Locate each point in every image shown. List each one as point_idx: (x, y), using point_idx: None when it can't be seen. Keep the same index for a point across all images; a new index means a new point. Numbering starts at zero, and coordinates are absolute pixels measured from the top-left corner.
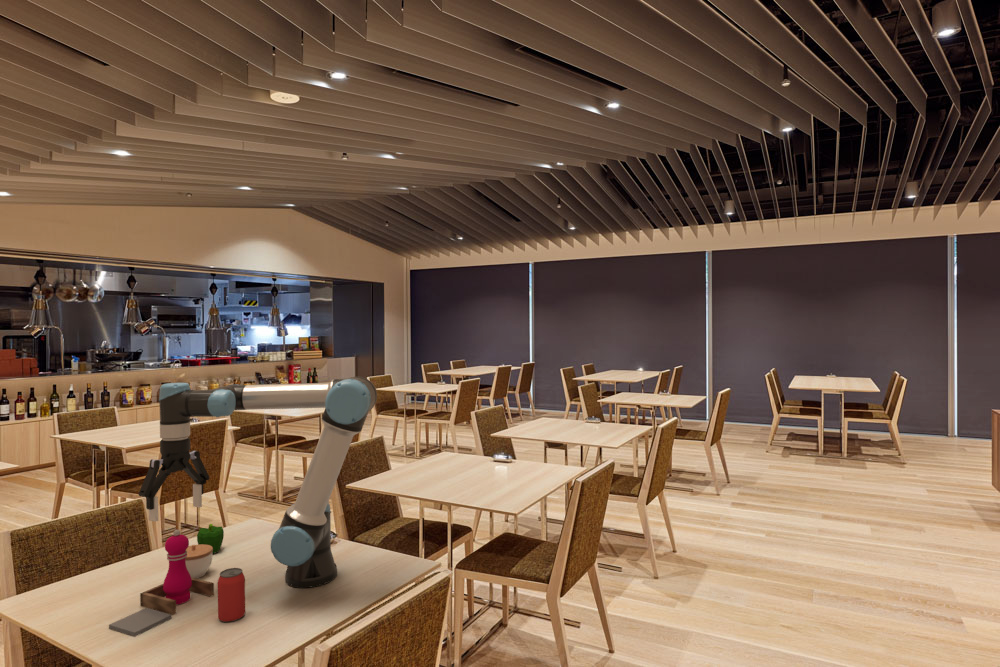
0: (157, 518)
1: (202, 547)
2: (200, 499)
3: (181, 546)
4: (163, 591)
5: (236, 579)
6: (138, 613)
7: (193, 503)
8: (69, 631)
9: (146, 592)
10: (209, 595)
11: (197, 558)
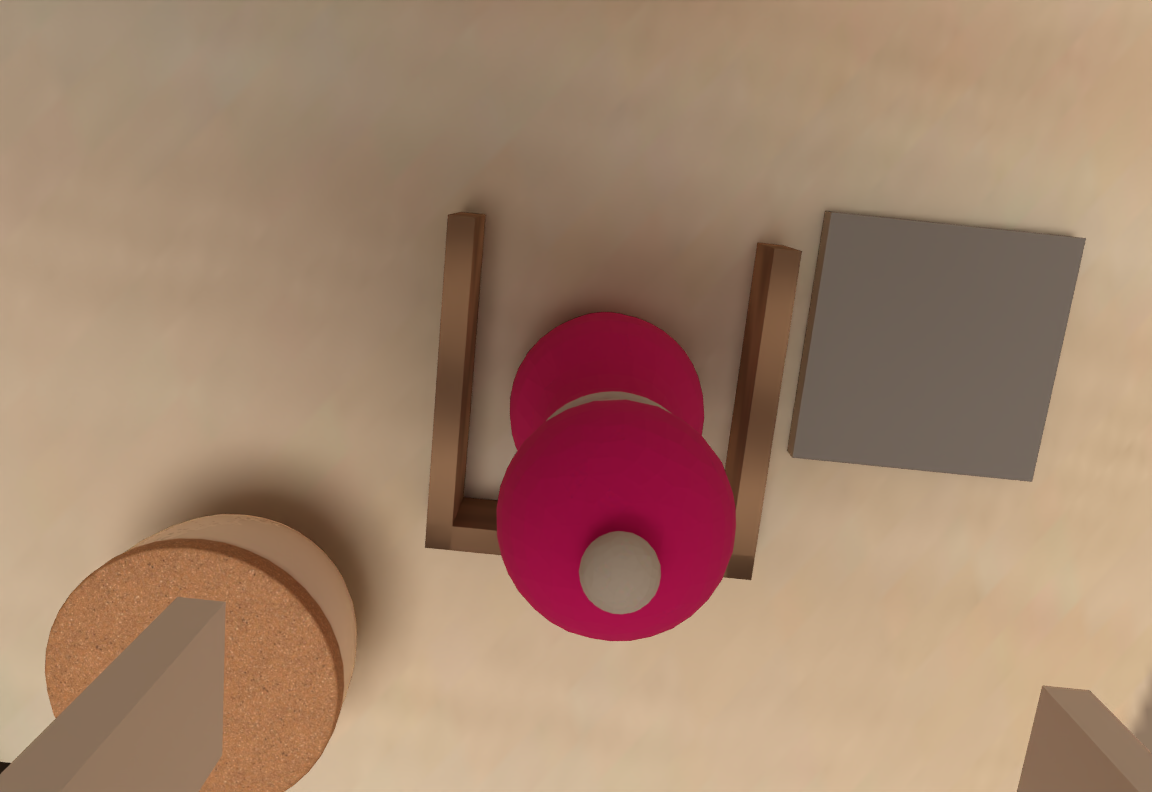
0: (1080, 710)
1: None
2: (134, 674)
3: (661, 413)
4: None
5: None
6: (868, 437)
7: (197, 781)
8: (1092, 655)
9: None
10: (483, 230)
11: (270, 562)
